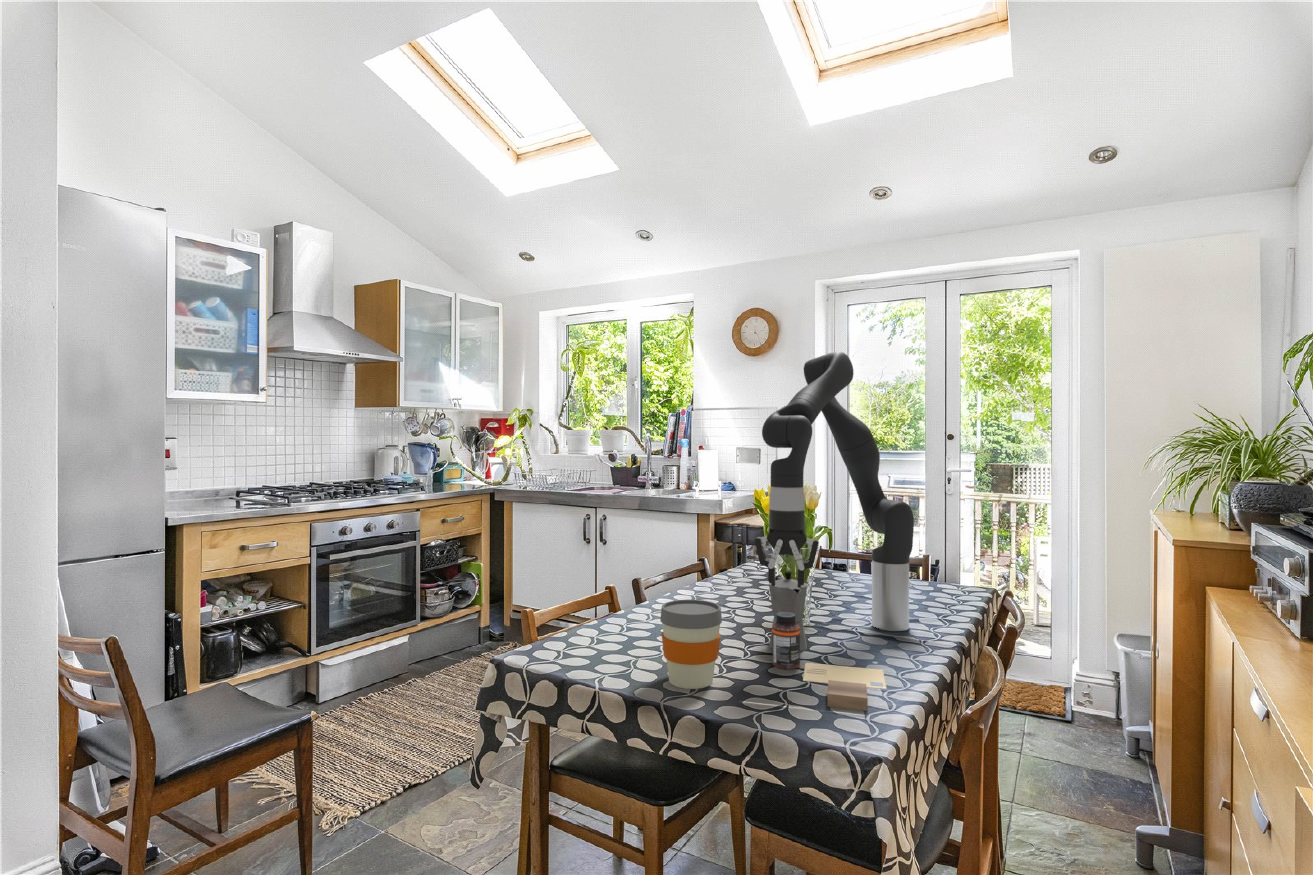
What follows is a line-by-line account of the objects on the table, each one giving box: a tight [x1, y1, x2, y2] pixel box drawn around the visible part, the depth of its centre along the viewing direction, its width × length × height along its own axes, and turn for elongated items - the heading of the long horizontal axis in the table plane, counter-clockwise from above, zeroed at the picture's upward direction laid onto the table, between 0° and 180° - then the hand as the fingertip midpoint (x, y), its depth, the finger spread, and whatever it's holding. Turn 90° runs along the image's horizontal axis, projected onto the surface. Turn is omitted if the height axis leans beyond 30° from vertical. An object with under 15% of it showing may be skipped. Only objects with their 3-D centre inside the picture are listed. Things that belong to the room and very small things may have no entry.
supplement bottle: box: [771, 612, 801, 670], centre depth 142 cm, size 6×6×11 cm
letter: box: [802, 662, 887, 690], centre depth 136 cm, size 11×16×1 cm
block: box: [826, 680, 869, 712], centre depth 123 cm, size 7×7×3 cm
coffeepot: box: [768, 570, 808, 653], centre depth 156 cm, size 15×9×18 cm, turn 8°
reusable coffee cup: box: [660, 599, 723, 690], centre depth 134 cm, size 13×13×15 cm
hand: (786, 585), depth 142 cm, fingers open, 5 cm apart
